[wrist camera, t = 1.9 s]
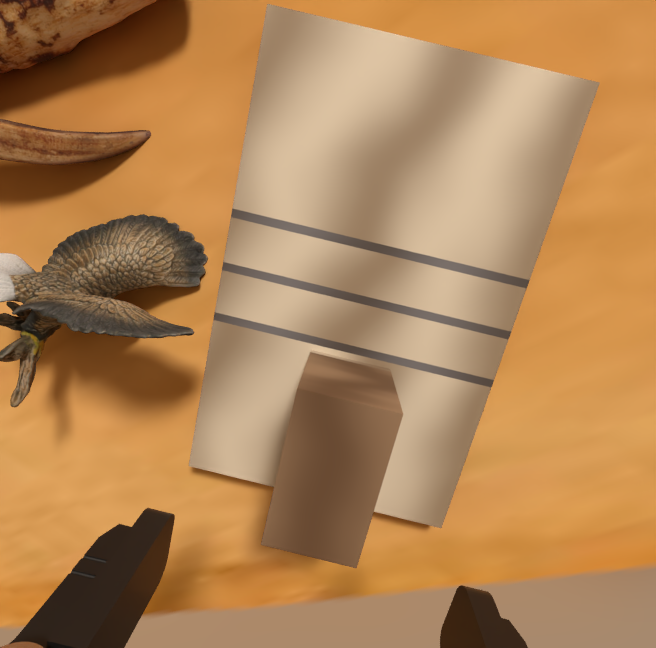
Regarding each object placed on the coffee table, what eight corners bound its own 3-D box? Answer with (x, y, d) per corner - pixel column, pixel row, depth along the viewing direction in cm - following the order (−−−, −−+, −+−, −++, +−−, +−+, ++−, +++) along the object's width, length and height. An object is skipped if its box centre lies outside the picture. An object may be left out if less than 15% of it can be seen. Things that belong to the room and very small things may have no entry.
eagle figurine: (97, 412, 21) (231, 356, 18) (-83, 403, 14) (78, 315, 12) (95, 288, 23) (210, 222, 21) (-57, 236, 17) (78, 130, 14)
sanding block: (390, 368, 19) (403, 414, 14) (355, 490, 21) (356, 568, 16) (310, 349, 19) (296, 388, 14) (282, 472, 21) (260, 544, 16)
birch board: (582, 93, 17) (599, 82, 16) (436, 512, 22) (441, 528, 21) (273, 19, 17) (267, 3, 16) (197, 453, 22) (188, 466, 21)
